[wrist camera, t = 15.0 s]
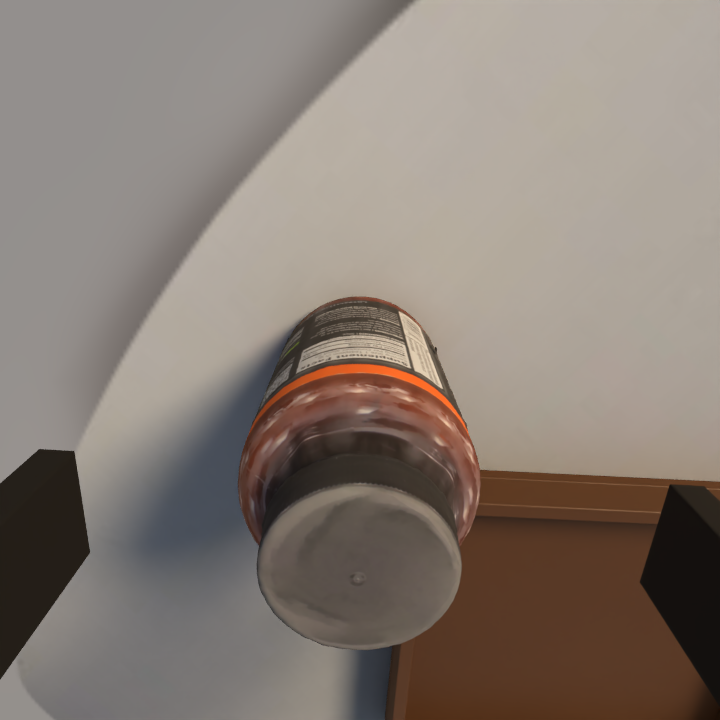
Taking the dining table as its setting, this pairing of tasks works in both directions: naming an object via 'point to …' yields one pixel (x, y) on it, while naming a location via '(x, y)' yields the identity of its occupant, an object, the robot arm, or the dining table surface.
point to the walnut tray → (553, 612)
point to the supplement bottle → (359, 479)
